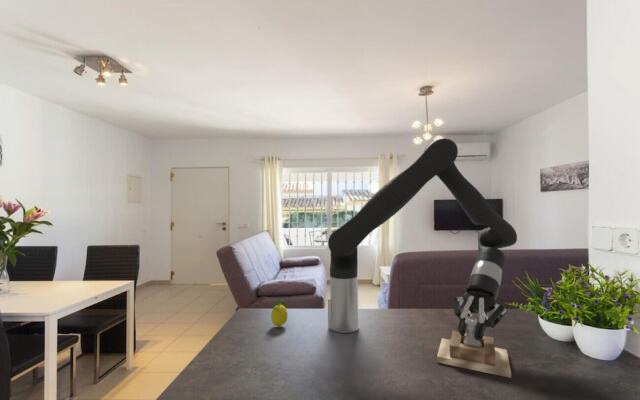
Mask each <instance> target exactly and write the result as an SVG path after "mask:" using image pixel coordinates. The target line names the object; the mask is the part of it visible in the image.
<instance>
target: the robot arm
mask: <svg viewBox="0 0 640 400" xmlns="http://www.w3.org/2000/svg"><path fill="white" fill-rule="evenodd" d="M458 149H459V148H458V145H457V143H456V142H455V141H454V140H452V139H449V138H444V137H443V138H438V139H435V140H433V141H431V143H429V144H428V145H427V146H426V147H425V148H424V150H423V152H422V153H421V155H420V156H419V157H418V158H417V159H416V160H415V161H414V162H413V163H412V164H411V165H409V166H408V167H407V168H406V169H404V170H402V172H400V173H398V174H397V175H396V176H394V177H393V178H391V179H390V180H389V181H387V182H386V183H385V184H384V185H383V186H381V188H380V189H378V191H376V192H375V193H374V194H373V195H372V196H371V198H369V200H367V202H366V203H365V204H364V205H363V207H362V208H361V209H360V210H359V211H358V212H357V213H356V214H355V215H354V216H353V217H352V218H350V219H349V220H348V221H347V222H345V223H344V224H343V225H341V226H340V227H338V228H337V229H335V230H334V231H332V232H331V233H330V235H329V237H328V242H327V245H328V249H329V251H330V264H329V297H330V298H328V299H327V324H328V325H327V327H328V329H329V330H332V331H333V332H335V333H338V334H339V333H340V334H351V333H354V332H357V331H358V330H359V292H358V291H359V290H358V289H359V287H358V286H359V284H358V281H359V280H358V268H359V267H358V247H359V245H360V244H361V243H362V242H363V241H364V240H365V239H366V238H367V237H368V236H369V235H370V234H371V233H372V232H373V231H374V230H376V229H377V228H379V227H380V226H381V225H382V224H384V223H386V222H387V221H389V220H390V219H391V218H392V217H393V216H395V215H396V214H397V213H398V212H399V211H401V209H403V208H404V207H405V206H406V205H407V204H408V203H409V202H410V201H411V200H412V199H413V198H414V197H415V196H416V195H417V194H418V193H419V192H420V190H422V189H423V187H424V186H425V185H426V184H427V183H428V182H429V181H431V180H432V179H433V178H434V177H437V178H438V179H439V180H440V181H442V183H443V184H444V186H446V188H447V189H448V191H450V193H451V194H452V195H453V197H454V199H455V200H456V201H457V203H458V204H459V205H460V207H461V209H462V210H463V211H464V213H465V214H466V216H467V217H468V218H469V221H470V222H472V223H473V225H477V226H482V225H483V226H486V228H483V229H482V230H481V231H480V232H479V234H478V235H477V247H478V249H477V251H478V255H477V258H476V260H475V264H474V266H473V268H472V270H471V273H470V277H469V280H468V283H467V286H466V291H465V293H463V295H462V296H456V295H453V296H452V305H453V312H454V315H455V317H456V318H457V319H458V320H459V322H458V326H457V332H459V333H460V335H462V336H464V335H465V333H467V328H466V326H467V324H466V323H465V320H466V317H471V318H472V317H473V315H474V314H478V315H479V316H478V318H479V320H478V322H479V323H478V324H477V328H476V331H475V335H474V336H475V338H476V340H479V341H480V339H482V338H483V336H485V333H486V332H485V331H486V329H487V328H492V329H494V328H495V327H496V326H497V325H498V324H499V323H500V322H501V320H502V319H503V318H504V317H505V315H507V314H508V313H507V309H506V307H505V306H504V305H503V304H499V303H497V298H498V294H499V289H500V286H501V283H502V276H503V269H504V264H505V262H506V261H505V260H506V256H505V254H504V252H503V251H502V250H501V249H503V248H507V247H511V246H514V245H516V243H517V241H518V235H517V232H516V230H515V228H514V227H513V226H512V224H511V223H509V222H508V221H507V220H505V219H504V218H503V217H502V216H500V215H499V214H498V213H497V212H496V211H495V210H493V209H492V207H491V205H490V204H489V203H488V201H487V200H486V199H485V197H484V195H483V194H482V193H481V192H480V191H479V190H478V189H477V188H476V187H475V186H474V185H473V184H472V183H471V182H470V181H468V180H467V178H465V176H464V175H463V174H462V172H461V171H460V170H459V169H458V167H457V165H456V163H455V161H456V160H457V157H458V154H459V151H458ZM463 303H464V307H463V310H462V309H461V306H462V305H463ZM493 310H494V311H493ZM491 311H493V312H492V314H491V315H490V316H488V315H489V313H490V312H491Z"/></svg>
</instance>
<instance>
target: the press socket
mask: <svg viewBox="0 0 640 400" xmlns="http://www.w3.org/2000/svg"><path fill="white" fill-rule="evenodd" d="M450 336H451V337H450V338H449V339H448V338H443V337H442V338H441V341H440V345H439V348H438V350H437V351H438V352H437V356H436V362H437V363H438V364H444V365H449V366H453V367H457V368H463V369H467V370H471V371H477V372H482V373H486V374H490V375H496V376H501V377H504V378H510V379H512V370H511V364H510V360H509V355H508V350H507V348H500V347H495V342H494V341H495V339H494V337H493V336H486V335H484V336H483V338H482V339H480V342H481V344H482V347H478V346H473V345H467V344H464V340H465V338H466V336H467V332H465V335H464V336H462V335H460V333H459V331H458V330H457V331H456V330H452V331H451V335H450Z"/></svg>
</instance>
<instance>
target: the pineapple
mask: <svg viewBox="0 0 640 400" xmlns="http://www.w3.org/2000/svg"><path fill="white" fill-rule="evenodd" d="M286 307H287V305H286V302H285V301H280V299H278V300H277V301H275V302H274V304H273V308H272V310H271V313H270V321H271V323H272V324H273V325H274V326H277V327H278V328H281V327H282V326H283V325H284V324H286V323H287V321H288V310H287V308H286Z"/></svg>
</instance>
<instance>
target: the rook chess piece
mask: <svg viewBox="0 0 640 400" xmlns="http://www.w3.org/2000/svg"><path fill="white" fill-rule="evenodd" d="M465 323H466V324H467V326H466V333H467V336H466V338H465V340H464V344H467V345H473V346H478V347H482V344H481V342H480V341H479V340H476V338H475V336H474V335H475V331H476V328H477V324H478V323H479V320H478V318H476V317H474V316H472V317H466V320H465Z"/></svg>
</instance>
